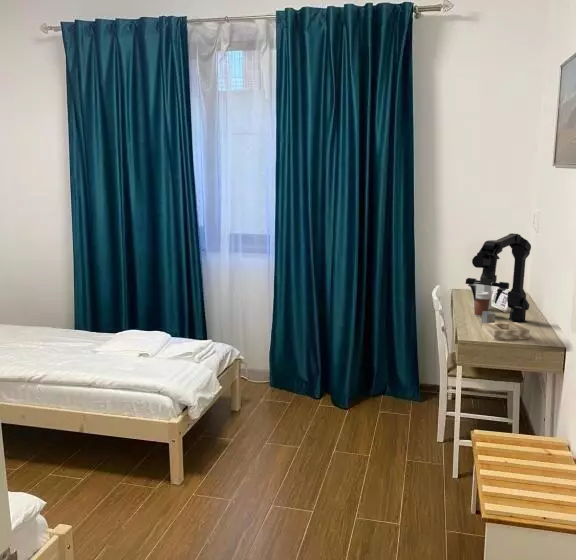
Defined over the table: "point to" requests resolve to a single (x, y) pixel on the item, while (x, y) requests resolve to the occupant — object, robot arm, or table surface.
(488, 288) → the skincare box
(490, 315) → the bracket
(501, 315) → the table surface
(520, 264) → the robot arm
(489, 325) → the well block
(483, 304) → the coffee cup
